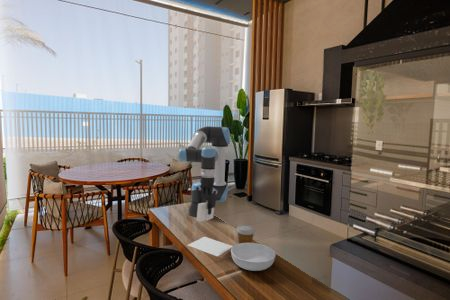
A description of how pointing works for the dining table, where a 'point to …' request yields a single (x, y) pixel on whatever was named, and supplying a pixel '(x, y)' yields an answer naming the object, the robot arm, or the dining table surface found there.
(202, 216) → the tile
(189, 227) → the dining table surface
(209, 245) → the mat
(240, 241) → the disposable coffee cup
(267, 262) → the serving bowl
